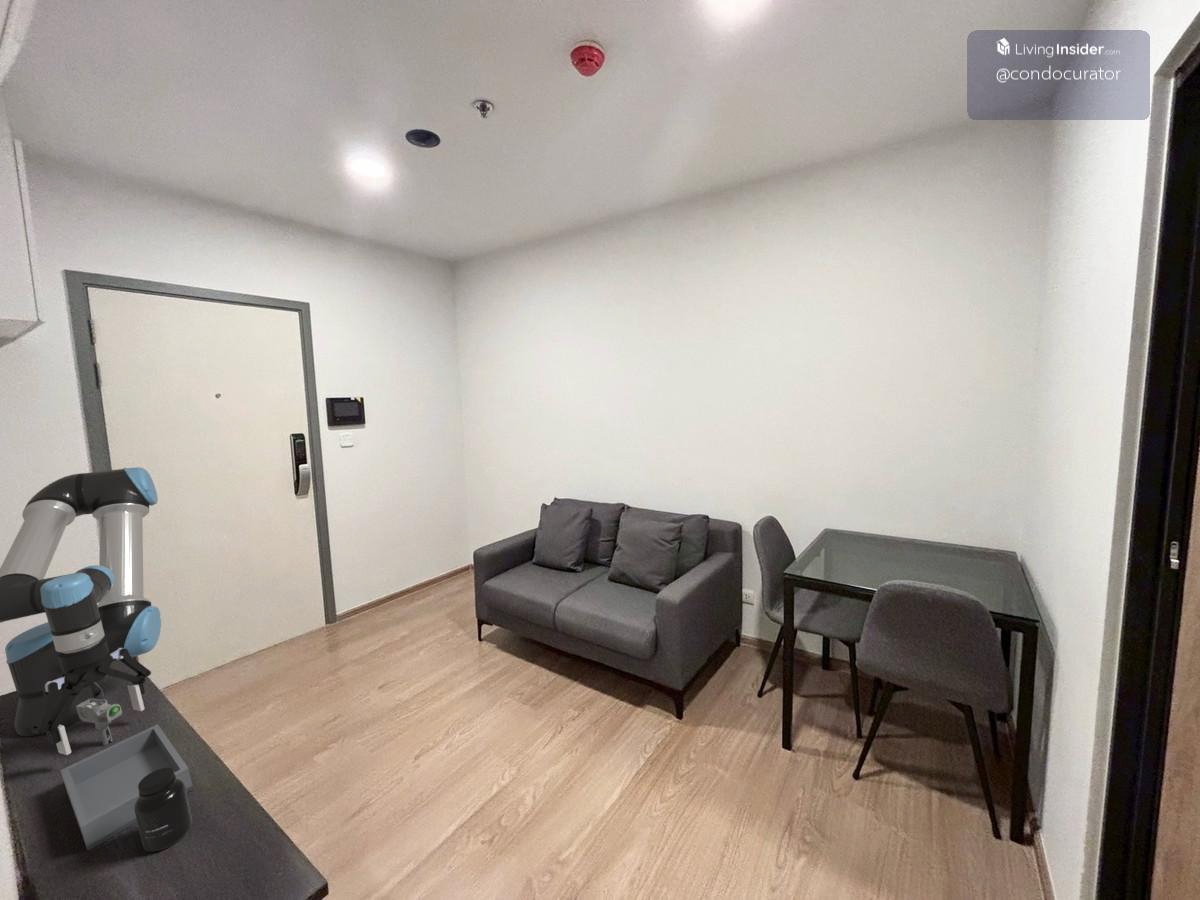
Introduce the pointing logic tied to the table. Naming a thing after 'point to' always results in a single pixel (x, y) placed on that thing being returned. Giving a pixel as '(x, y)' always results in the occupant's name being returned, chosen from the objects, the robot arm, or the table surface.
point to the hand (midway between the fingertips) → (104, 729)
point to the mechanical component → (99, 715)
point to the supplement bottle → (162, 810)
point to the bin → (118, 782)
